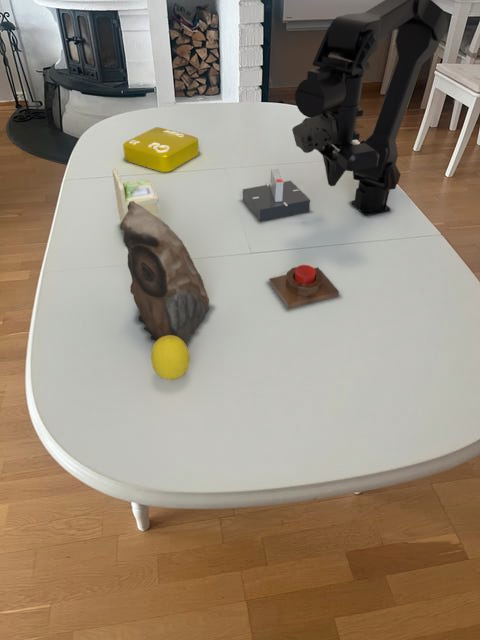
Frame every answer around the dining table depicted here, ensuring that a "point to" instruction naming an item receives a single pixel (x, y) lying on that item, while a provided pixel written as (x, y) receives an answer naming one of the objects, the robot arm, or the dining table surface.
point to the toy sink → (134, 195)
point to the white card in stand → (276, 185)
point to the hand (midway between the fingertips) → (331, 185)
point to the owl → (162, 276)
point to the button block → (303, 289)
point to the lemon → (170, 357)
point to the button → (304, 274)
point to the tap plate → (266, 206)
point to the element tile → (161, 149)
